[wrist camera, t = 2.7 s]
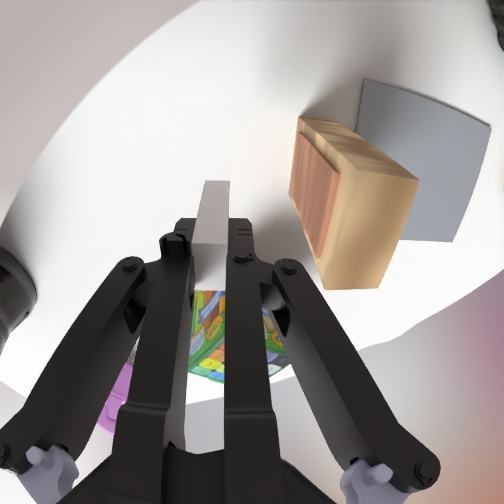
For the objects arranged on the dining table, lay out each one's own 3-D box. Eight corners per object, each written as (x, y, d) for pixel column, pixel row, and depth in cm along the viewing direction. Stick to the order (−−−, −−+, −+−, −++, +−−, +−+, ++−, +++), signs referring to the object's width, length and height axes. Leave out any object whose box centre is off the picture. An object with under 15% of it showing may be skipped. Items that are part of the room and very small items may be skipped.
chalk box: (224, 250, 33) (223, 365, 21) (285, 281, 36) (306, 386, 24) (188, 297, 37) (177, 399, 25) (244, 320, 40) (250, 415, 29)
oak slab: (285, 192, 28) (320, 290, 17) (295, 116, 24) (352, 169, 12) (325, 195, 29) (378, 288, 18) (338, 122, 24) (419, 180, 13)
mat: (332, 234, 32) (333, 237, 32) (364, 78, 21) (366, 79, 21) (450, 240, 34) (452, 242, 33) (489, 127, 23) (491, 128, 22)
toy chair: (91, 362, 48) (75, 426, 36) (111, 353, 45) (96, 424, 33) (121, 380, 52) (110, 440, 40) (144, 372, 50) (135, 440, 38)
